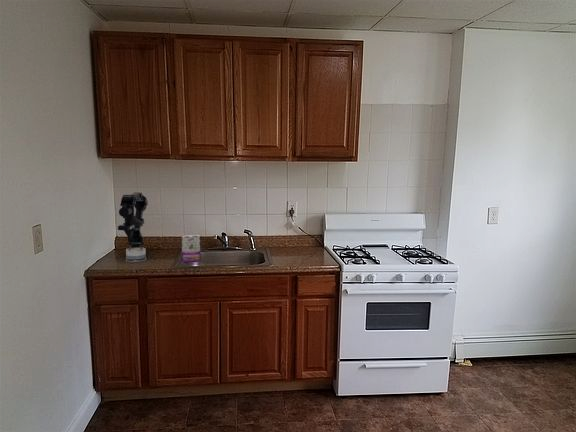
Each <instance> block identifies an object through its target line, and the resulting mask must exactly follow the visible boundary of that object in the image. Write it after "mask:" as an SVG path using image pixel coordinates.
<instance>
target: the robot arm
mask: <svg viewBox="0 0 576 432" xmlns="http://www.w3.org/2000/svg"><path fill="white" fill-rule="evenodd" d="M148 205H149V204H148V199H147V197H146V196H145V195H144V194H143V193H142V192H137V191H135V192H133V193H131V194H123V195H122V196H121V200H120V207H121V208H119V209H118V214H119V216H120V217H122V219H124V223H122V224H120V225H118V226H117V230H118V231H123V232H124V234H126V236H127V243H128V245H129V246H131V248H133V247H142V245H145V239H144V238H143V237H144V236H143V234H142V233H141V227H143V226H144V224H145V219H144V218H143V215H144V212H145V211H146V210H147V206H148Z"/></svg>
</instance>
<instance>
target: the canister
mask: <svg viewBox="0 0 576 432" xmlns="http://www.w3.org/2000/svg"><path fill="white" fill-rule="evenodd" d="M133 248H140V249H141V250H137V251H131V250H130V249H133ZM133 248H132V247H128V248H126V249H125V254H126V255H125V257H126V258H125V262H126V263H131V264H132V263H133V264H134V263H142V262H145V261H146V262H147V257H146V251H147V250H146V248H145V247H143V246H141V247H133Z"/></svg>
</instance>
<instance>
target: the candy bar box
mask: <svg viewBox="0 0 576 432" xmlns="http://www.w3.org/2000/svg"><path fill="white" fill-rule="evenodd" d="M201 261H202V260H201V235H200V234H190V235H189V234H186V235H181V262H182V264H183V263H184V264H185V263H186V264H187V263H201Z"/></svg>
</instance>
